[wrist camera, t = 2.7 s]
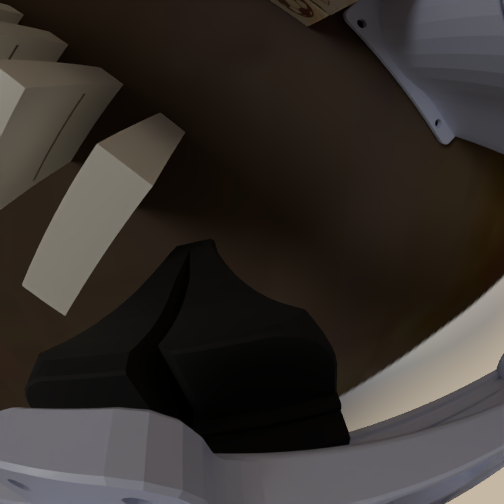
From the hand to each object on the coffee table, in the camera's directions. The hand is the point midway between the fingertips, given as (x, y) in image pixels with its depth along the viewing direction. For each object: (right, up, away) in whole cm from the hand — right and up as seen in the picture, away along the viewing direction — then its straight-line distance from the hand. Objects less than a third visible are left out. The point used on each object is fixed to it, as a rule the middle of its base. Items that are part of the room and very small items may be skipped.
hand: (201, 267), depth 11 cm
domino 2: (-7, +7, +2) cm, 10 cm away
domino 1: (-4, +5, +4) cm, 7 cm away
